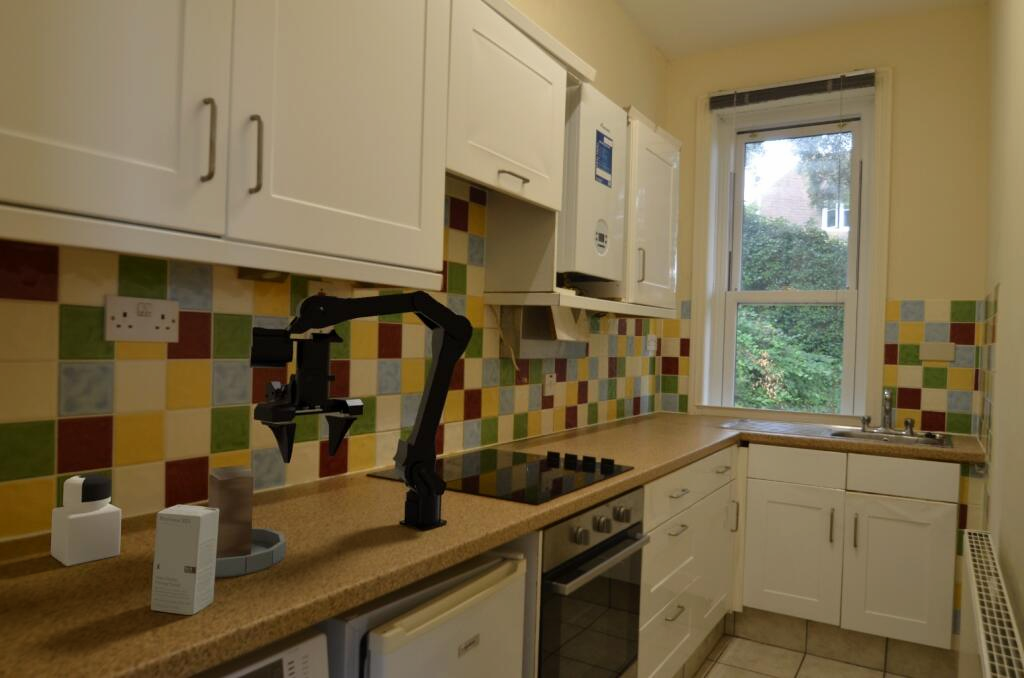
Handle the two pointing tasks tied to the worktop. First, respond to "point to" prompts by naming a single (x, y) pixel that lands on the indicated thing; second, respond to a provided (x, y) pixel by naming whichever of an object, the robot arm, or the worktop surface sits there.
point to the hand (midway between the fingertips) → (310, 459)
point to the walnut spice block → (232, 509)
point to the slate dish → (254, 554)
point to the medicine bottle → (86, 521)
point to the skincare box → (184, 559)
